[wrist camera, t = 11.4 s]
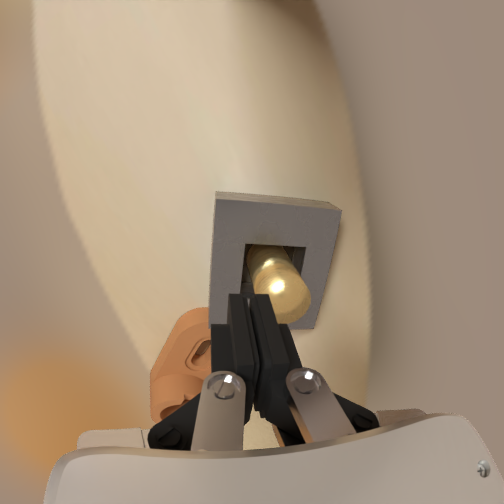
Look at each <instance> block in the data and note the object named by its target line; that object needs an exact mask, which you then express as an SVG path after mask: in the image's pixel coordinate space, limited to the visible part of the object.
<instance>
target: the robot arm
mask: <svg viewBox="0 0 504 504" xmlns="http://www.w3.org/2000/svg"><path fill="white" fill-rule="evenodd" d="M253 404H254V409H255V411H259V412H260V417H261V418H266V420H267V421H269V422H270V423H272V428H273V431H274V433H275V436H276V438H277V441H278V443H279V446H280V447H277V448H267V449H255V450H243V434H244V425H245V424H246V423H247V422H248V421H249V419H250V414H251V411H252V406H253ZM43 504H504V481H503V479H502V476H501V474H500V472H499V470H498V468H497V466H496V464H495V462H494V460H493V458H492V456H491V454H490V452H489V451H488V449H487V447H486V445H485V444H484V442H483V440H482V439H481V437H480V436H479V434H478V432H477V431H476V430H475V429H474V427H473V426H472V424H471V423H470V422H469V421H468V420H467V419H465V418H464V417H462V416H461V415H458V414H454V413H432V414H426V413H425V412H423V411H422V410H420V409H404V410H386V411H377V412H376V413H373V412H371V411H370V410H368V409H366V408H364V407H362V406H359V405H357V404H355V403H353V402H351V401H349V400H347V399H345V398H343V397H341V396H339V395H337V394H335V393H333V392H332V391H331V389H330V388H329V386H328V384H327V383H326V381H325V379H324V378H323V377H322V375H321V374H320V373H318V372H317V371H316V370H313V369H310V368H305V367H302V364H301V361H300V358H299V355H298V353H297V350H296V347H295V344H294V341H293V338H292V335H291V332H290V330H289V327H288V325H287V324H278V323H277V319H276V316H275V313H274V310H273V306H272V303H271V300H270V297H269V294H255V296H254V297H250V302H249V306H248V300H247V297H242V294H231V293H229V295H228V309H227V324H211V374H210V375H208V376H207V377H206V378H205V380H204V382H203V385H202V390H201V392H200V393H199V394H198V395H196V396H195V397H194V398H192V399H191V400H190V401H188V402H187V403H186V404H184V405H183V406H181V407H180V408H179V409H177V410H176V411H174V412H173V413H172V414H170V415H169V416H167V417H166V418H164V419H163V420H162V421H160V422H159V423H157V424H156V425H155V426H153V428H151V429H145V430H141V428H129V429H114V430H91V431H86V432H84V433H83V434H81V435H80V437H79V438H78V442H77V450H75V451H72V452H69V453H67V454H65V455H63V456H62V457H61V458H60V459H59V460H58V461H57V462H56V464H55V466H54V467H53V470H52V472H51V474H50V477H49V480H48V484H47V488H46V492H45V497H44V503H43Z"/></svg>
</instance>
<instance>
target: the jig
mask: <svg viewBox="0 0 504 504" xmlns="http://www.w3.org/2000/svg"><path fill="white" fill-rule="evenodd" d="M341 213H342V210H340V209H339V208H337V207H336V206H334V205H332V204H331V203H329V202H323V201H315V200H306V199H297V198H288V197H278V196H268V195H256V194H244V193H231V192H217V191H216V194H215V206H214V219H213V233H212V249H211V265H210V284H209V306H208V329H211V324H227V309H228V295H229V293H231V294H242V297H247V300H248V306H249V302H250V297H254V296H255V292H254V288H253V284H252V283H246V282H241V278H242V269H243V260H244V251H245V243H246V244H264V245H280V246H295V248H294V254H293V259H292V263H293V265H294V266H295V268H296V270H297V271H298V273H299V275H300V276H301V278H302V280H303V281H304V283H305V285H306V286H307V288H308V290H309V292H310V295H311V302H310V306H309V308H308V310H307V312H306V313H305V314H304V315H303V316H302V317H301V318H300V319H298V320H296V321H295V322H292V323H289V324H287V325H288V327H289V329H314V326H315V322H316V319H317V315H318V311H319V308H320V304H321V300H322V296H323V293H324V289H325V285H326V281H327V277H328V272H329V268H330V264H331V260H332V255H333V251H334V247H335V242H336V237H337V233H338V228H339V223H340V218H341Z"/></svg>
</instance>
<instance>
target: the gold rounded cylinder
mask: <svg viewBox="0 0 504 504" xmlns="http://www.w3.org/2000/svg"><path fill="white" fill-rule="evenodd" d="M246 261H247V266H248V270H249V273H250V277H251V281H252V284H253V288H254V292H255V294H269V297H270V300H271V303H272V306H273V310H274V313H275V316H276V319H277V323H278V324H289V323H292V322H295V321H296V320H298V319H300V318H301V317H302V316H303V315H304V314H305V313H306V312H307V310H308V308H309V306H310V302H311V295H310V292H309V290H308V288H307V286H306V285H305V283H304V281H303V280H302V278H301V276H300V275H299V273H298V271H297V270H296V268H295V266H294V265H293V263H292V261H291V260H290V258H289V256H288V255H287V253H286V251H285V250H284V248H283V247H282V246H280V245H264V244H254V245H253V246H252V247H251V248H250V250H249V251H248V254H247V258H246Z"/></svg>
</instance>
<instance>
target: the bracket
mask: <svg viewBox="0 0 504 504" xmlns="http://www.w3.org/2000/svg"><path fill="white" fill-rule="evenodd" d="M206 340H211V329H208V308H206V307H205V308H196V309H193V310H191V311H189V312H187V313H185V314H184V315H183V316H182V317H180V319H179V320H178V321H177V323H176V324H175V326H174V328H173V330H172V332H171V334H170V336H169V338H168V339H167V341H166V343H165V345H164V347H163V349H162V351H161V353H160V355H159V357H158V358H157V360H156V362H155V364H154V366H153V368H152V370H151V373H150V407H151V418H152V420H153V421H154V422H155V423H159V422H160V421H162V420H163V419H164V418H166V417H167V416H169V415H170V414H172V413H173V412H174V411H176V410H177V409H179V408H180V407H181V406H183V405H184V404H186V403H187V402H188V401H190V400H191V399H192V398H194V397H195V396H196V395H198V394H199V393H200V392H201V390H202V385H203V382H204V380H205V378H206V377H207V376H208V375H210V374H211V344H210V345H209V347H208V348H207V350H206V351H205V353H203V354H201V355H195V352H196V351H197V349H198V348H199V346H200V345H201V343H202V342H204V341H206Z"/></svg>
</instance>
